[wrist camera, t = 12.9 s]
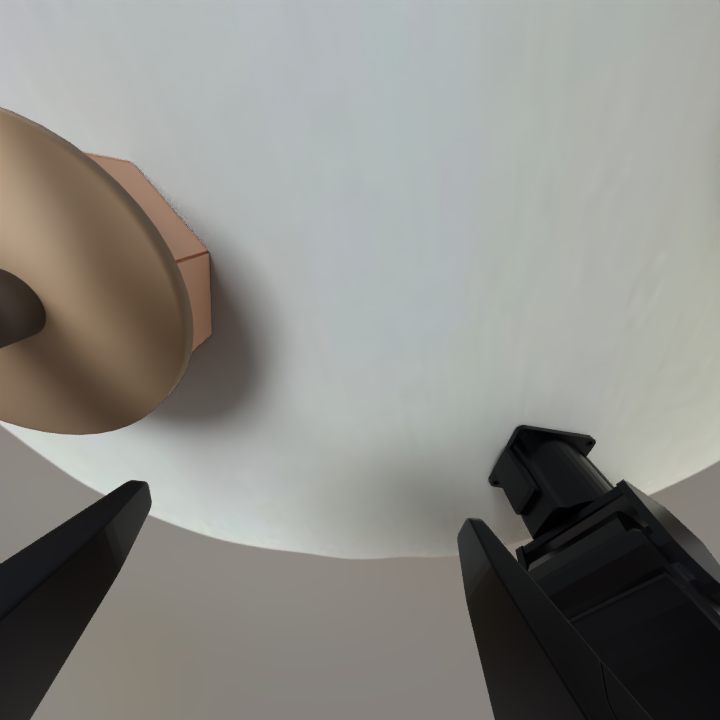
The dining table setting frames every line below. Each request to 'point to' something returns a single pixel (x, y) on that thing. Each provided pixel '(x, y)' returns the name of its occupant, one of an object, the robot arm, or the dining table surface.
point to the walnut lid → (81, 292)
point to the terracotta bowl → (170, 240)
